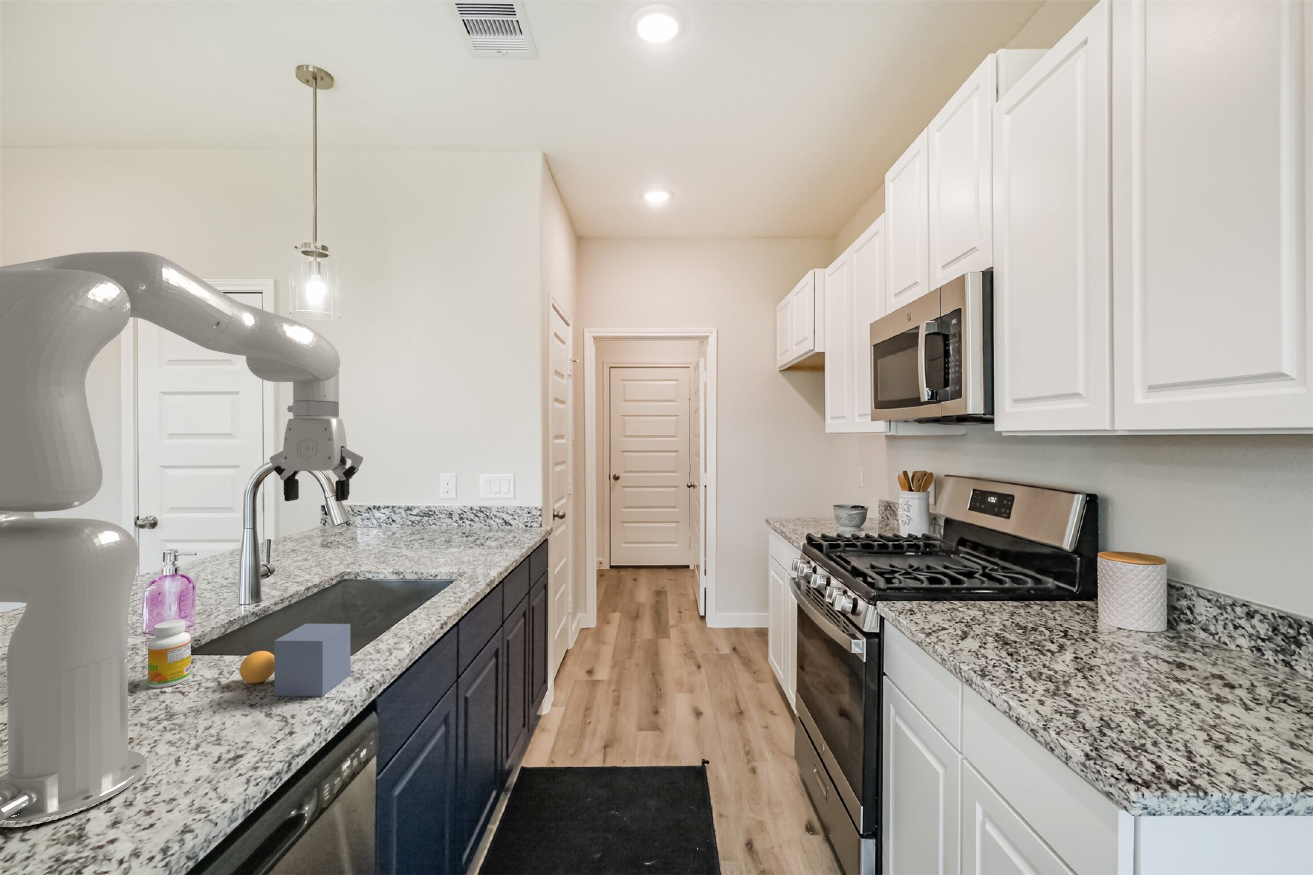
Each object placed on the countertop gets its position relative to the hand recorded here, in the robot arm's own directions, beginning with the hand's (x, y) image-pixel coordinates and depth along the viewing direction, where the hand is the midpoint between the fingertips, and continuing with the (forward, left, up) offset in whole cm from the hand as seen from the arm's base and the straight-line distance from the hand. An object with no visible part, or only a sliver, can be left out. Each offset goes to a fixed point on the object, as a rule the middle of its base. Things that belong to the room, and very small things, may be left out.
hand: (316, 500), depth 105 cm
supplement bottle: (-14, +16, -29) cm, 36 cm away
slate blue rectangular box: (-15, -9, -29) cm, 34 cm away
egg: (-14, +1, -26) cm, 30 cm away
